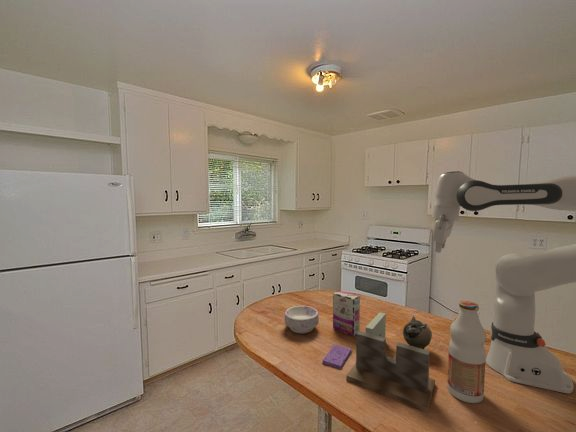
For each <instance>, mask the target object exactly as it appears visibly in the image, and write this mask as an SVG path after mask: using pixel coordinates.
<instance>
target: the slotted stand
mask: <svg viewBox="0 0 576 432" xmlns="http://www.w3.org/2000/svg"><path fill="white" fill-rule="evenodd" d="M355 336H356V341H355V342H356V343H355V345H356V348H355V349H356V350H355V351H356V352H355V359H356V360H355V363H354V365H353V366H352V368H350V370H349V371H348V372H347V374H345V375H346V377H345V378H346V381H349V382H351V383H354V384H355V385H358V386H361V387H363V388H366V389H368V390H370V391H374V392H376V393H378V394H380V395H383V396H386V397H387V398H391V399H393V400H396V401H397V402H400V403H403V404H405V405H407V406H411V407H412V408H416V409H418V410H420V411H422V412H425V413H427V412H428V410H429V406H430V404H431V399H432V396H433V393H434V389H435V386H436V379H434V378H430V350H427V349H425V348H424V349H425V350H424V349H421V348H417V347H414V346H410V345H409V344H408V343H407V344H406V343H402V342H397V344H396V347H395V348H396V349H395V358H393V357H390V356H386V346H387V344H386V343H387V339H386V337H385V338H383V337H379V336H376V335H372V334H369V333H366V331H362V330H359V332H358V333H357V334H356V335H355Z"/></svg>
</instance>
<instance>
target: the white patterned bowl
mask: <svg viewBox="0 0 576 432" xmlns="http://www.w3.org/2000/svg"><path fill="white" fill-rule="evenodd" d="M284 311H285V312H284V323H285V326H286V327H288V328H290V330H291V331H292V332H293V333H295V334H296V333H297V334H307V333H310V332H312V331H313V330H314V328H316V327H317V326H318V325H319V310H317V309H316V308H314V307H313V306H309V305H296V306H291V307H288V308H287V309H286V310H284Z"/></svg>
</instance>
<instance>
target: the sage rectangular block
mask: <svg viewBox="0 0 576 432" xmlns="http://www.w3.org/2000/svg"><path fill="white" fill-rule="evenodd" d="M386 318H387V313H385V312H381V311H380V312H378V313H377V315H375V317H374V318H373V319H371V321H370V322H368V324H367V325H366V326H365V333H369V334H372V335H376V336H379V337H383V338H386V328H387V327H386V321H387V319H386Z"/></svg>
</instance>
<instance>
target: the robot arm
mask: <svg viewBox="0 0 576 432" xmlns="http://www.w3.org/2000/svg"><path fill="white" fill-rule="evenodd" d="M434 196H435V200H434V203H433V206H432V213H431V218H433V219H434V223H435V224H434V229H433V233H432V240H433V241H434V242H435V249H434V251H435V253H438V254H439V253H441V252H442V250H443V249H445V246H446V242H447V239H448V237H449V238H450V236H451V234H452V230H453V227H454V224H455V222H457V221H459V217H460V210H461V208H463V209H464V210H466V211H470V212H477V211H478V212H479V211H482V210H485V209H489V208H491V207H493V206H494V207H495V206H505V205H507V206H511V205H512V206H513V205H515V206H516V205H517V206H518V205H526V206H527V205H529V206H538V207H542V208H545V209H552V210H557V211H567V212H569V211H570V212H576V174H571V175H570V174H569V175H568V174H567V175H562V176H557V177H551V178H548V179H545V180H541V181H538V182H533V183H532V182H531V183H526V184H525V183H524V184H523V183H522V184H520V183H519V184H492V183H488V182H486V181H483V180H477V179H474V178H473V177H470V176H468V175H466V174H465V173H464V171H459V170H458V171H447V172H444V173H442V174H441V175H439V176H438V179H437V183H436V187H435V192H434ZM494 275H495V277H494V295H493V296H494V298H493V300H494V301H493V317H492V318H493V321H492V322H491V325H490V341H491V342H490V346H489V350H488V352H487V355H486V361H485V364H487V366H489V368H491V369H493V370H494V371H495V372H497V373H499V374H501V375H502V376H503V377H504V378H505V379H506V380H508V381H509V382H513V383H517V384H522V385H527V386H530V387H536V388H541V389H544V390H549V391H554V392H558V393H559V392H560V393H562V394H563V393H564V394H571V393H573V392H574V382H573V380H572V378H571V377H570V376H569V374H568V373H567V372H565V371H564V368H563V364H562V362H561V360H560V359H559V358H558V357H557V356H556V355H555V354H554V353H552V351H550V350H549V349H548V348H546V347H545V346H546V345H547V344H546V341H545V340H544V339H543V337H542V336H541V335H540V333H539V331H535V321H536V293H537V292H541V291H546V290H549V289H553V288H555V287H556V288H557V287H559V286H564V285H567V284H573V283H576V243H574V244H569V245H563V246H559V247H554V248H551V249H547V250H546V251H543V252H539V253H536V254H531V255H529V256H525V255H522V254H519V253H508V254H504V255H503V256H501V257H500V258H499V259H498V260H497V261H496V264H495V274H494Z"/></svg>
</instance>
